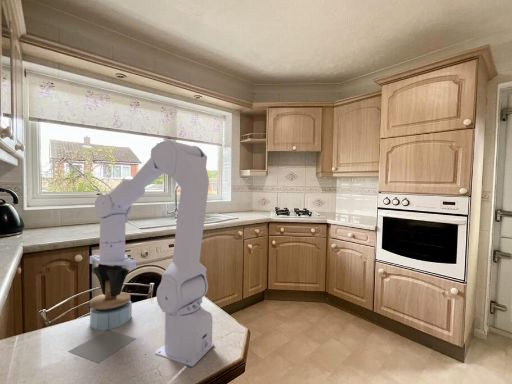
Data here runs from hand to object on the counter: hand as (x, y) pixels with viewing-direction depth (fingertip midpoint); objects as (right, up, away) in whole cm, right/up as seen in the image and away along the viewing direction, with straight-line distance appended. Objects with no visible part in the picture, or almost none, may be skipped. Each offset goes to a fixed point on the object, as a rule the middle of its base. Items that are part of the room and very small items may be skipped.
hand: (111, 294), depth 65 cm
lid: (0, -2, 0) cm, 2 cm away
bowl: (0, -7, 0) cm, 7 cm away
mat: (+4, -7, -10) cm, 13 cm away
